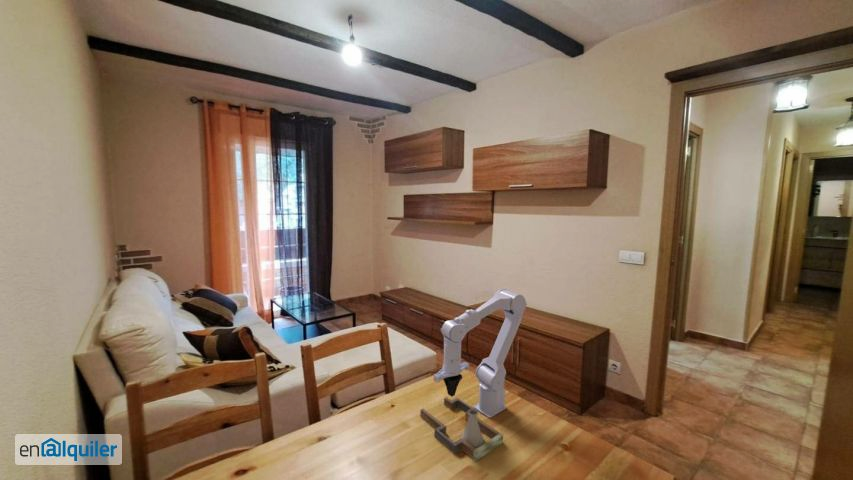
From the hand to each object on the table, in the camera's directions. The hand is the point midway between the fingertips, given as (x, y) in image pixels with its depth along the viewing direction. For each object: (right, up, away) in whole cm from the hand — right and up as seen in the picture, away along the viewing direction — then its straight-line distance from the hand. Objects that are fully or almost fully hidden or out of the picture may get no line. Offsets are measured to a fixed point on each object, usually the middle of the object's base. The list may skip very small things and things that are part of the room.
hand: (451, 394), depth 116 cm
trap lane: (+3, -10, -2) cm, 11 cm away
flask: (+6, -11, -8) cm, 15 cm away
